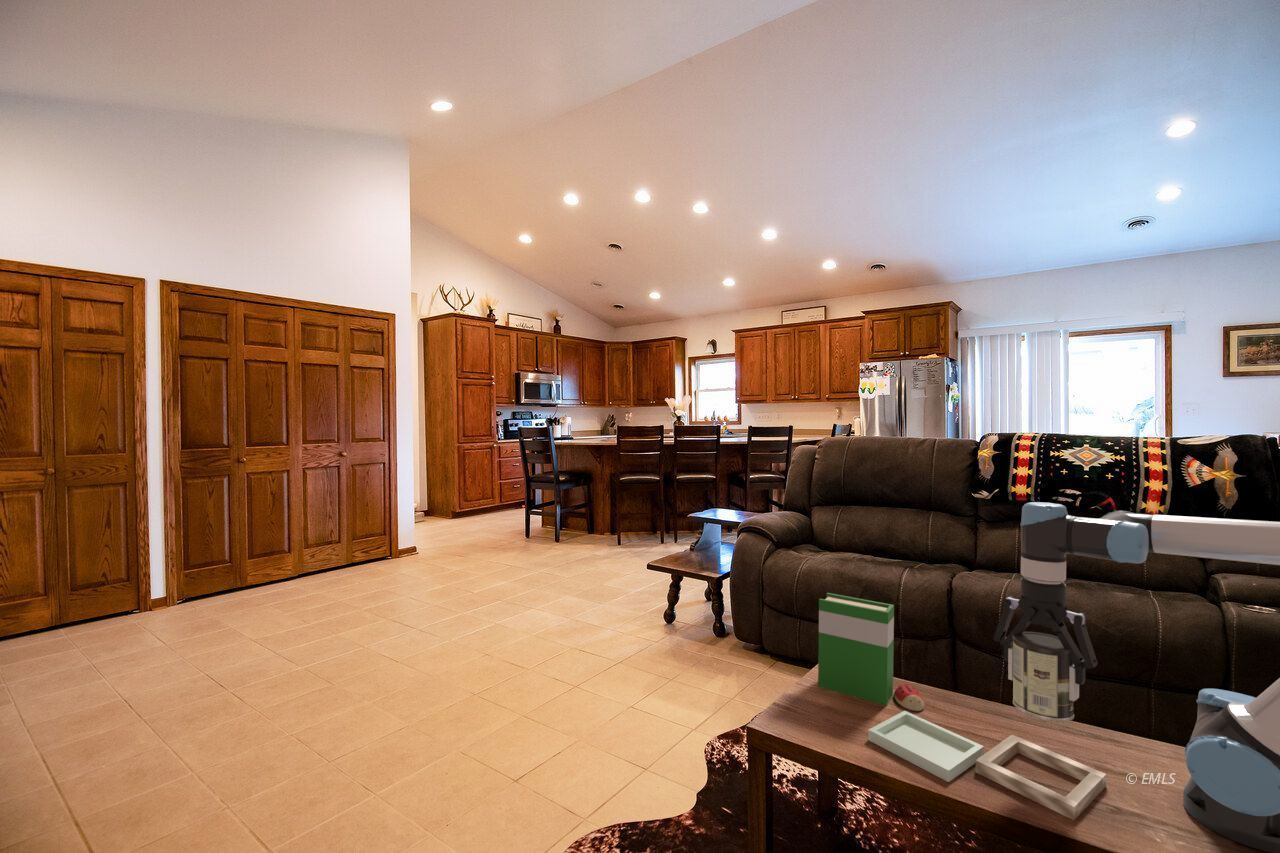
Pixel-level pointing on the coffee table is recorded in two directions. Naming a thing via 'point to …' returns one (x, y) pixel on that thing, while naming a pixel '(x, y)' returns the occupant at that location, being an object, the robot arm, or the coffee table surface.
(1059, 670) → the coffee can
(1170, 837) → the coffee table surface
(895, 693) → the red apple half
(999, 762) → the wooden collar
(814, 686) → the coffee table surface
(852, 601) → the hardback book
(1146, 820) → the coffee table surface
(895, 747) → the tray
